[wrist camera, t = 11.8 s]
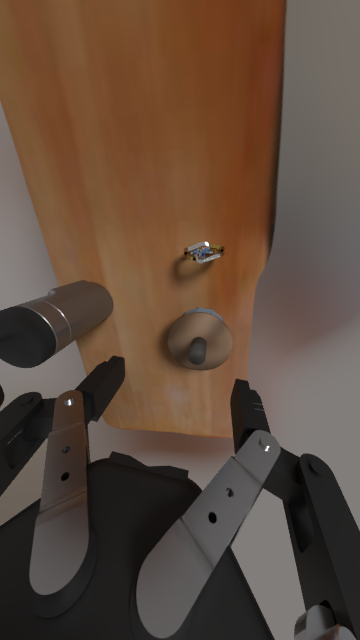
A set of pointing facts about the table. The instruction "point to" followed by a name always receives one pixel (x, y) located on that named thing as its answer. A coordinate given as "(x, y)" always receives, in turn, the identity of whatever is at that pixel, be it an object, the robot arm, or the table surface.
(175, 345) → the lid
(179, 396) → the table surface
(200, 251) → the ring
